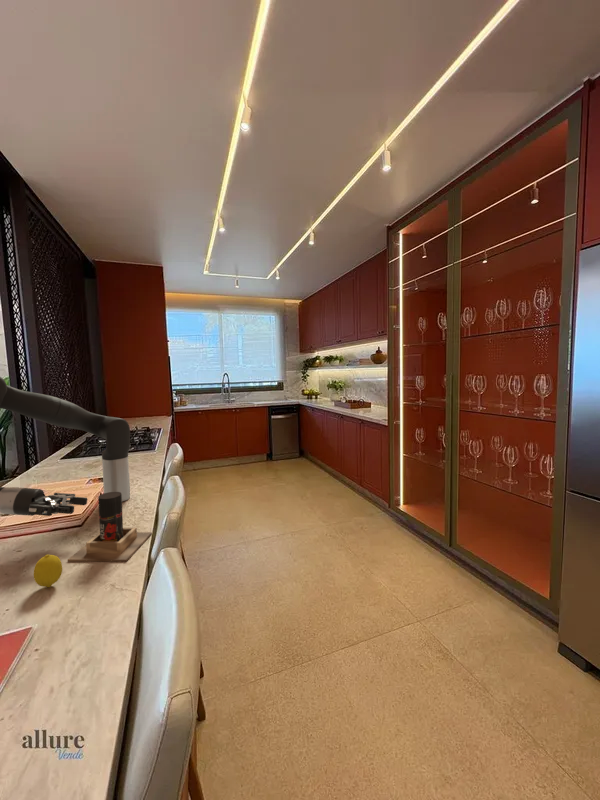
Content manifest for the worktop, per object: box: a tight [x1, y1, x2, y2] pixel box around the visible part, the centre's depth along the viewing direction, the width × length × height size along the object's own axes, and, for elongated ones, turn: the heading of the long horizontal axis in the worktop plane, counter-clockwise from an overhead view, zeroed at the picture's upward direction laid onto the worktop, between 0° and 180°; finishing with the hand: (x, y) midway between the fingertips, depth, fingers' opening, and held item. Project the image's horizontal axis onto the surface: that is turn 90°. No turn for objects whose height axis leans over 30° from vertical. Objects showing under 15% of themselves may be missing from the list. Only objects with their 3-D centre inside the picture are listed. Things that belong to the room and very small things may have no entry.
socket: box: [67, 527, 153, 563], centre depth 102 cm, size 16×16×4 cm
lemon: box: [33, 553, 63, 588], centre depth 82 cm, size 6×6×8 cm
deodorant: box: [98, 492, 124, 541], centre depth 101 cm, size 6×6×15 cm
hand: (80, 505), depth 103 cm, fingers open, 8 cm apart
